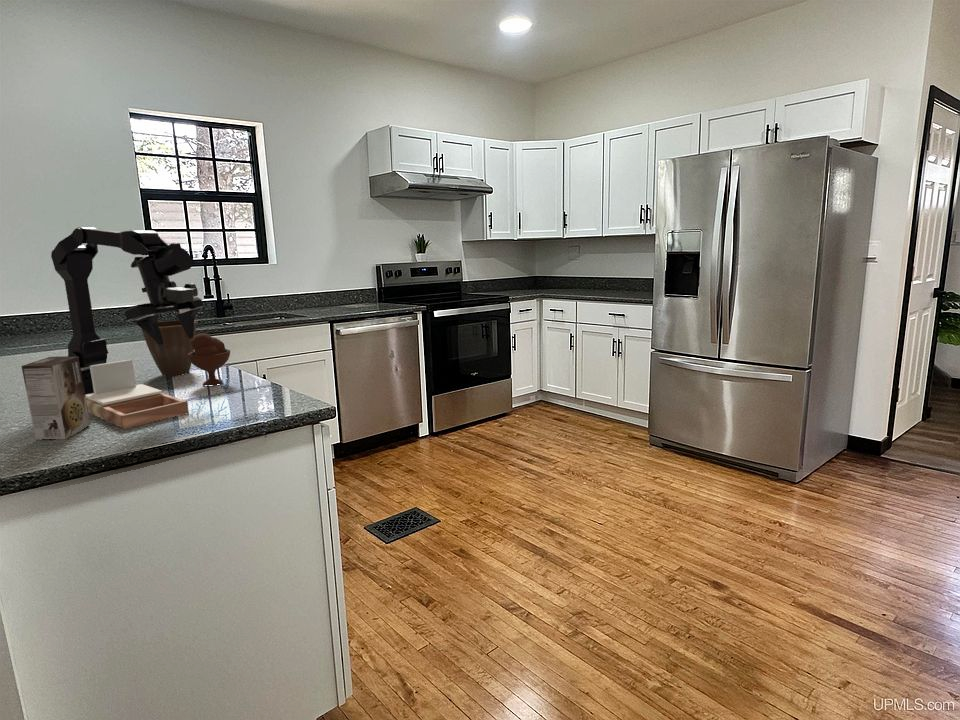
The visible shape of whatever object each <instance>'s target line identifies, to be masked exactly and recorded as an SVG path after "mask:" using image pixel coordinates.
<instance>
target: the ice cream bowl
mask: <svg viewBox="0 0 960 720" xmlns="http://www.w3.org/2000/svg"><path fill="white" fill-rule="evenodd" d="M191 347H192V348H193V349H194V351H193V352H191V353H189V354H187V355H188V358H189V360H190V362H191V365H193V366H194V367H195V368H198V369H199V370H201V371H206V372H207V374H208V379H207V380H205V381H204V382H202V384H201V385H217V384H221V383H222V382H223V380H220V379H218V378H217V377H216V370H218V369H220V368H222V367H223V366H224V365H225V364H226V363H227V362H228V361H229V358H230V356H231V349H227V348H226V347H225V343H224V342H223V341H222V340H220V339H219V338H217V337H212V336H211V334H208V333H198V334H196V335H195V336H194V337H193V339H192V340H191ZM223 383H224V382H223Z"/></svg>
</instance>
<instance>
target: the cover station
mask: <svg viewBox="0 0 960 720" xmlns="http://www.w3.org/2000/svg"><path fill="white" fill-rule="evenodd" d="M86 402H87V407H88V412H90V413H89V414H91V413H92V414H91V415H93V414H94V415H93V416H95V415H96V416H95V417H97V416H99V417H101V418H103V419H102V420H104V419H105V420H104V421H106V420H107V421H106V422H108V421H109V422H108V423H110V422H112V423H113V424H112V423H111V424H112V425H114V424H116V425H118V426H117V427H119V426H120V427H119V428H121V427H122V428H121V429H123V428H124V429H123V430H126V429H125V428H127V429H130V428H129V427H131V428H134V427H133V426H135V427H138V425H139V426H143V425H146V424H151V422H152V423H155V422H154V421H156V422H159V421H158V420H160V421H162V420H161V419H164V420H166V419H165V418H168V419H171V418H170V417H172V418H175V416H176V417H180V416H183V414H184V415H187V414H186V413H188V414H190V411H189V404H188V401H187V400H185V399H181V398H179V397H176V396H173V395H171V394H170V395H169V394H166V393H165V392H162V393H160V394H155V395H151V396H146V397H141V398H136V399H131V400H127V401H122V402H117V403H112V404H108V405H102V404H99V403H97V402H95V401H92V400H90V399H88V398H86ZM179 415H180V416H179ZM99 417H98V418H99ZM101 418H100V419H101ZM142 424H143V425H142ZM116 425H115V426H116Z"/></svg>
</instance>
